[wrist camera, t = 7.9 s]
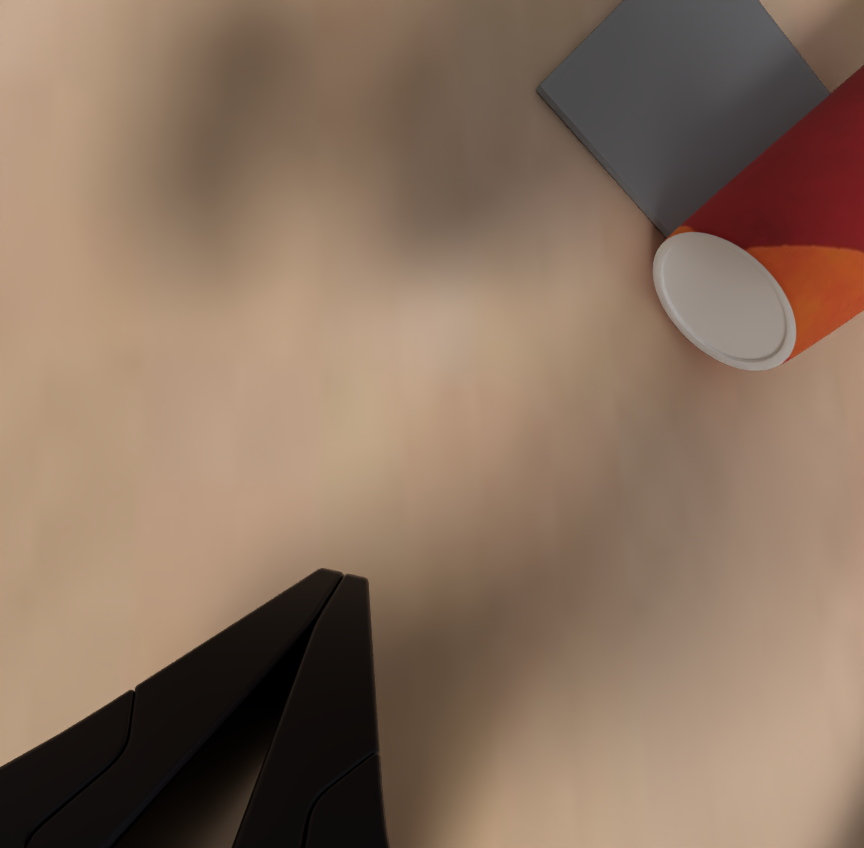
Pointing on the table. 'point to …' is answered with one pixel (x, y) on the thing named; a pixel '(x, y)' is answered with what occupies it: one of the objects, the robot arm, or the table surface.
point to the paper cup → (776, 244)
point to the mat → (681, 97)
